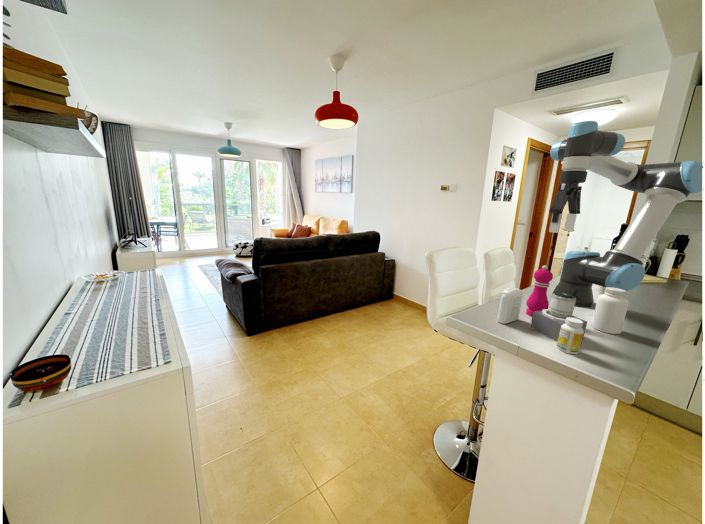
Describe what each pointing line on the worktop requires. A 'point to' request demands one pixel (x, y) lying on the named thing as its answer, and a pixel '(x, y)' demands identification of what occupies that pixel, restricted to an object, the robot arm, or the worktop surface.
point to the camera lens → (562, 305)
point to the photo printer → (509, 305)
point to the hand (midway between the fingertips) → (561, 231)
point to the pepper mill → (539, 291)
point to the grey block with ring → (550, 324)
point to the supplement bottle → (570, 336)
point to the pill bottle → (610, 311)
